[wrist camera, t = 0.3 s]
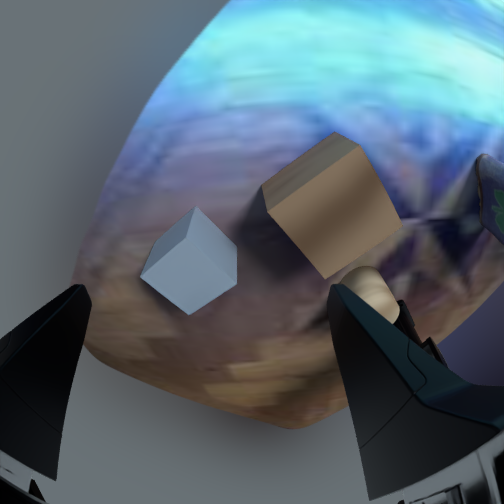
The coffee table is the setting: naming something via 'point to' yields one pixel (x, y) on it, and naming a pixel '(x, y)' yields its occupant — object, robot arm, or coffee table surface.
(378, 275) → the beech cylinder
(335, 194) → the tan block
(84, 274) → the coffee table surface
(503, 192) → the flask
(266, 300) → the coffee table surface
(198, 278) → the blue cube
